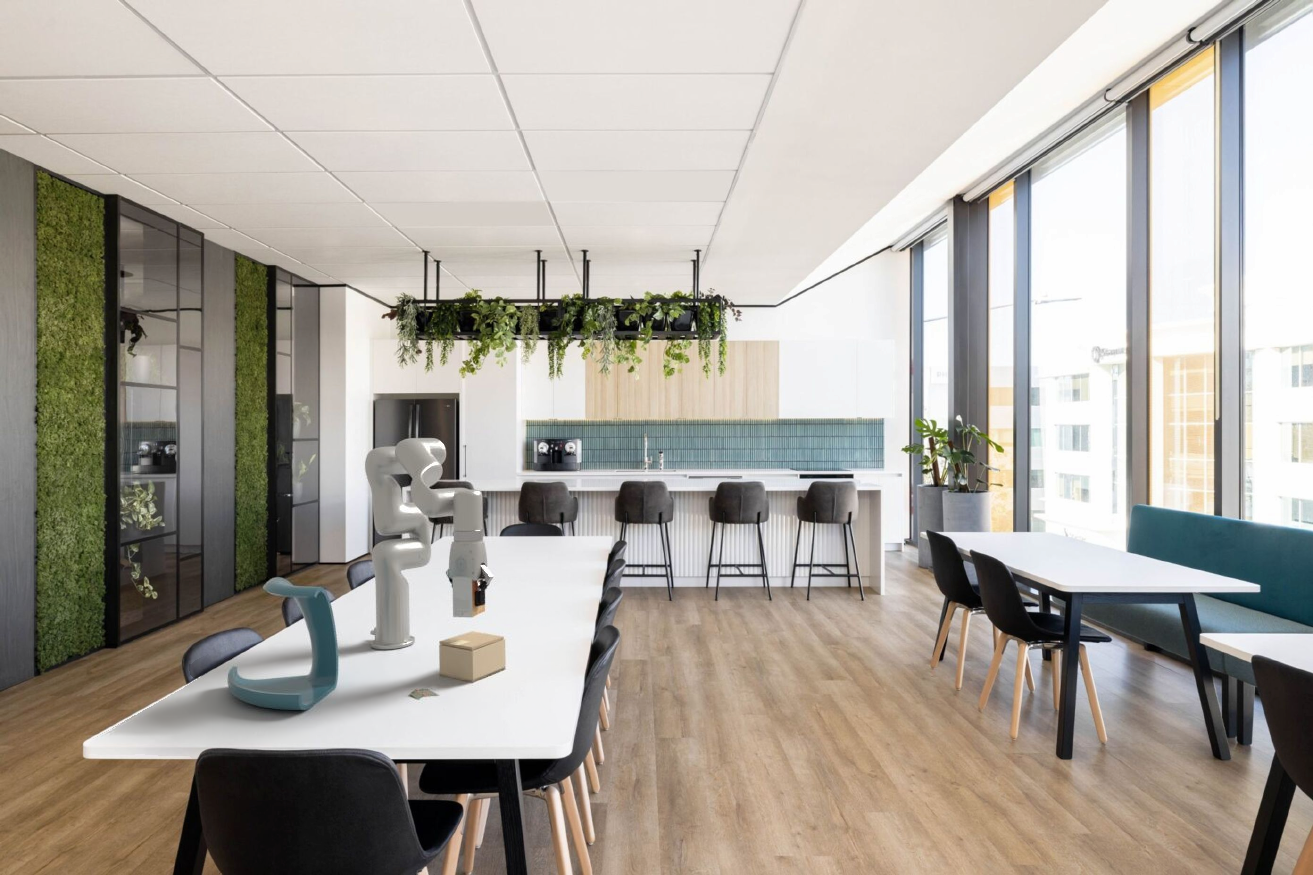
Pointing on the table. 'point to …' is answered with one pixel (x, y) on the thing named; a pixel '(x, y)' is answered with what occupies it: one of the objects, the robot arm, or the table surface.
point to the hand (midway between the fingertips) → (469, 603)
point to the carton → (472, 661)
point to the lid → (471, 640)
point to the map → (423, 693)
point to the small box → (465, 597)
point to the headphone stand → (324, 656)
